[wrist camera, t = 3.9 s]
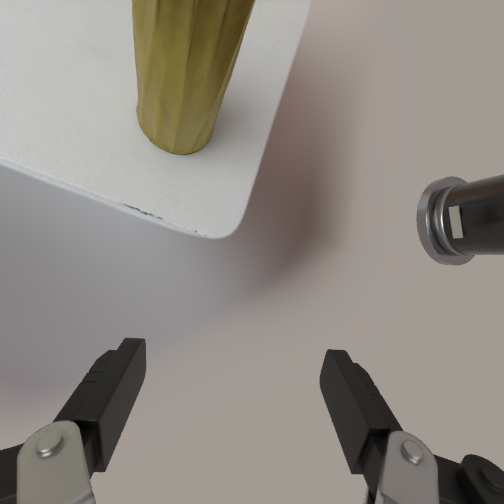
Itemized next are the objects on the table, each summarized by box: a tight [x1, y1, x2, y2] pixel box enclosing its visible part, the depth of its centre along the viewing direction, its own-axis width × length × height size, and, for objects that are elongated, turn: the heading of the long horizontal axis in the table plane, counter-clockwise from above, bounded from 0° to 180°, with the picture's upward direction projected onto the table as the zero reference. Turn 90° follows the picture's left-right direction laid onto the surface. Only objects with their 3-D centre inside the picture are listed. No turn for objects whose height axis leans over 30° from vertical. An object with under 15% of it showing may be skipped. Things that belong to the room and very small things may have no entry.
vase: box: [132, 0, 255, 154], centre depth 14 cm, size 6×6×14 cm
